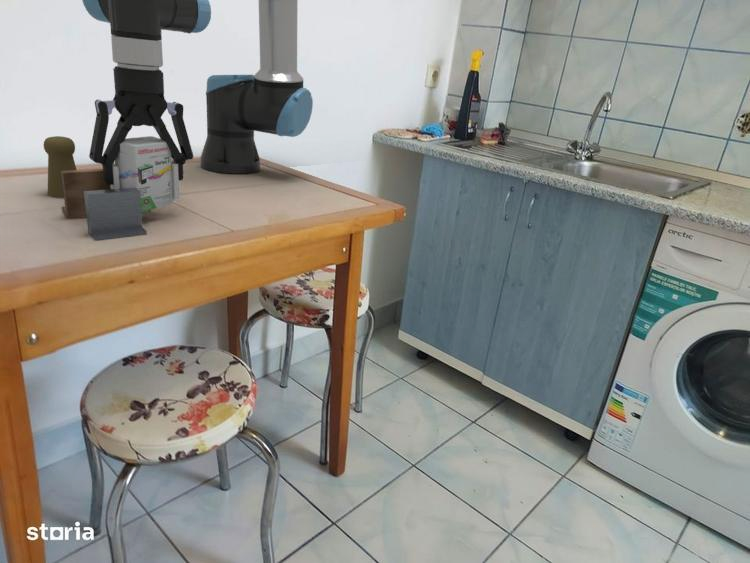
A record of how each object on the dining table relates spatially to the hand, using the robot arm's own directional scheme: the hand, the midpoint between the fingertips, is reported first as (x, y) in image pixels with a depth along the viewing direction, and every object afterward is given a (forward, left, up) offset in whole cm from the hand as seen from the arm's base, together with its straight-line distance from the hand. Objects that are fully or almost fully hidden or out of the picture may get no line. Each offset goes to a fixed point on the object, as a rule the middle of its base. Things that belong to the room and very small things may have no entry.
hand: (146, 199), depth 97 cm
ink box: (0, 0, -1) cm, 1 cm away
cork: (+9, -20, -4) cm, 22 cm away
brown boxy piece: (+5, -6, -3) cm, 9 cm away
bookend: (+7, +5, -3) cm, 9 cm away
